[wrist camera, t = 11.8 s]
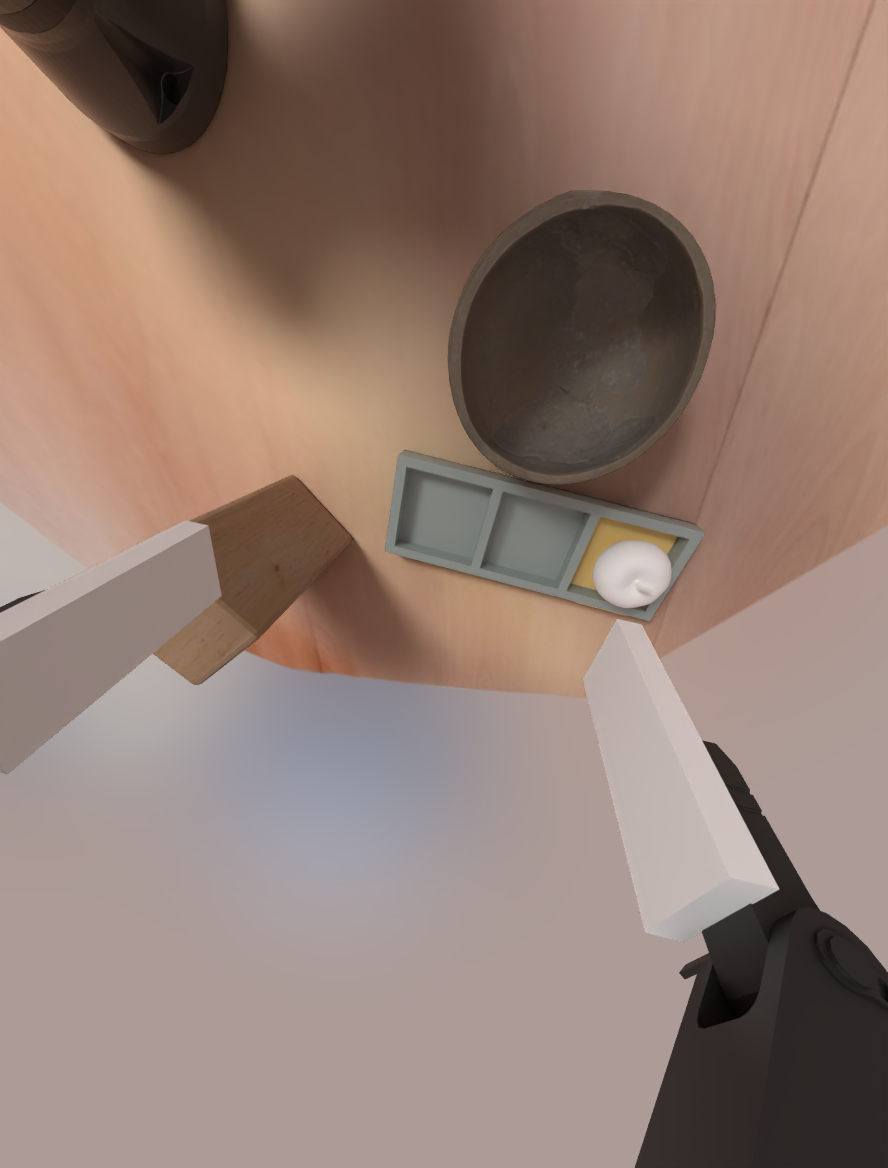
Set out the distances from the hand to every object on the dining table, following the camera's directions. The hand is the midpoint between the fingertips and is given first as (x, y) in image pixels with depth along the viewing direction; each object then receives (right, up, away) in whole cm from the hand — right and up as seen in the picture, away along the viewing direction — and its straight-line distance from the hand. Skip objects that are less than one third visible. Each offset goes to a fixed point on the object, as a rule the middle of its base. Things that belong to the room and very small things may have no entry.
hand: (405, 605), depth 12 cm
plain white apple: (+21, +4, +28) cm, 35 cm away
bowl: (+11, +21, +21) cm, 32 cm away
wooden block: (-17, +7, +33) cm, 38 cm away
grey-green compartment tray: (+11, +6, +29) cm, 31 cm away
